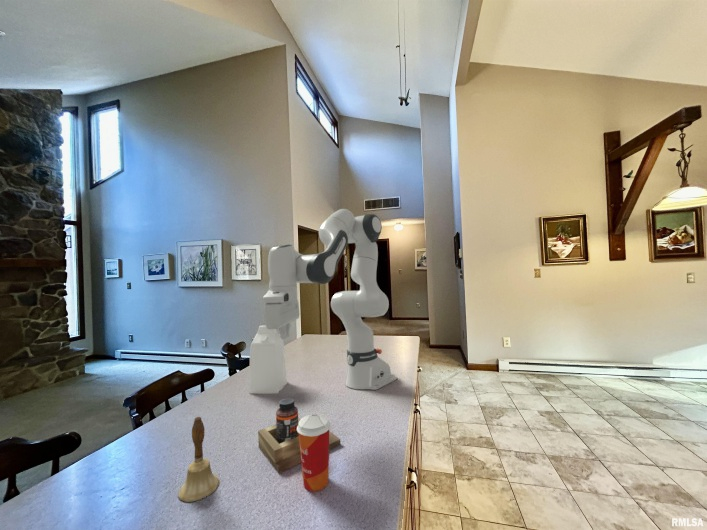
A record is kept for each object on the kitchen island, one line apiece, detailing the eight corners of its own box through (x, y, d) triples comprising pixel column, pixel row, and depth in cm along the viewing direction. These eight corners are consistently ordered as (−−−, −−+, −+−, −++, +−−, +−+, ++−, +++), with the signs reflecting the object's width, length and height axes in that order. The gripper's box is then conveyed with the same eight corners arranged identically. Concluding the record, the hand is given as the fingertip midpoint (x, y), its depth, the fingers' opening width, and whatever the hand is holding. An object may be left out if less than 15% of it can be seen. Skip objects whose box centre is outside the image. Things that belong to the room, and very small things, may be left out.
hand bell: (225, 474, 73) (222, 408, 73) (209, 501, 64) (207, 426, 65) (190, 476, 72) (187, 410, 73) (170, 503, 64) (167, 428, 64)
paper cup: (300, 473, 72) (298, 414, 72) (332, 469, 73) (330, 411, 73) (297, 497, 64) (294, 431, 64) (333, 493, 65) (330, 428, 65)
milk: (287, 382, 132) (284, 323, 132) (277, 393, 120) (275, 328, 120) (260, 382, 133) (258, 323, 133) (249, 393, 121) (246, 328, 122)
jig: (315, 424, 94) (315, 410, 94) (340, 444, 83) (339, 428, 83) (258, 447, 84) (258, 430, 84) (278, 473, 72) (277, 454, 72)
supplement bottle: (293, 450, 79) (292, 406, 79) (273, 448, 80) (271, 405, 80) (302, 437, 85) (300, 397, 85) (282, 435, 86) (281, 396, 86)
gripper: (286, 292, 108) (287, 331, 107) (259, 298, 87) (261, 346, 87) (303, 291, 107) (304, 331, 106) (280, 297, 86) (282, 345, 86)
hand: (285, 337), depth 97 cm, fingers closed
